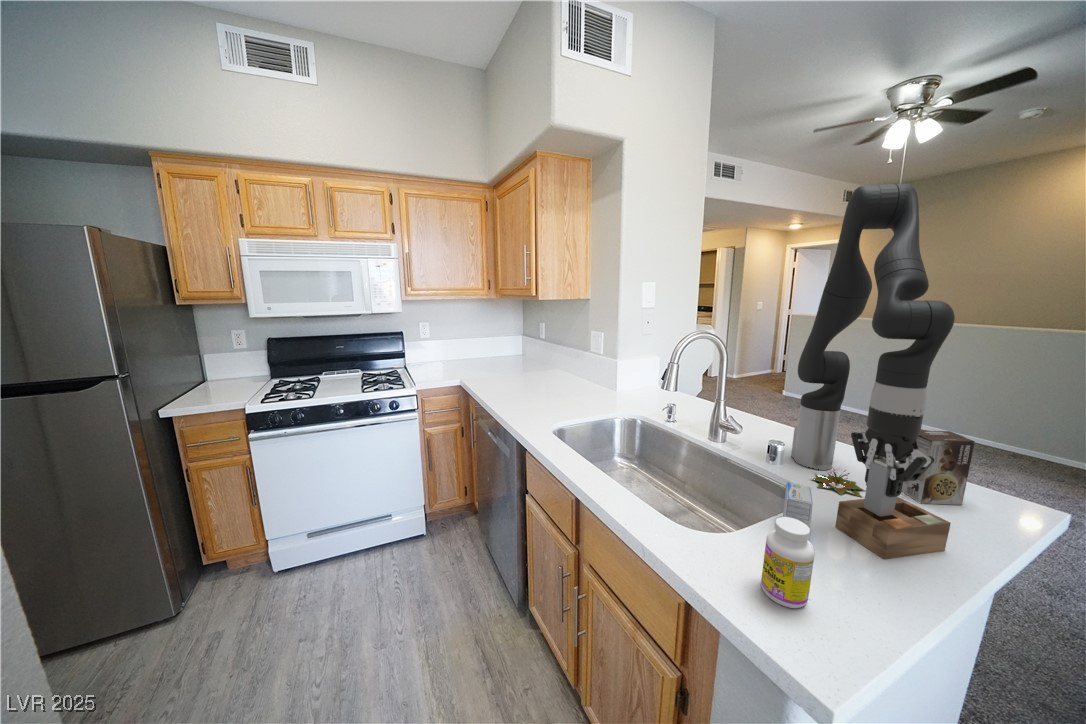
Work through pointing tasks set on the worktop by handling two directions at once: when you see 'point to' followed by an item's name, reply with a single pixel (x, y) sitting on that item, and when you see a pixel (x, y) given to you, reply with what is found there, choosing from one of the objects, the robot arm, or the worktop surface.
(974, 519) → the worktop surface
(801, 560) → the supplement bottle
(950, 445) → the coffee box
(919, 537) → the socket block
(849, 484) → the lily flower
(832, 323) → the robot arm
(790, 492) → the medicine box
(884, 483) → the plug
